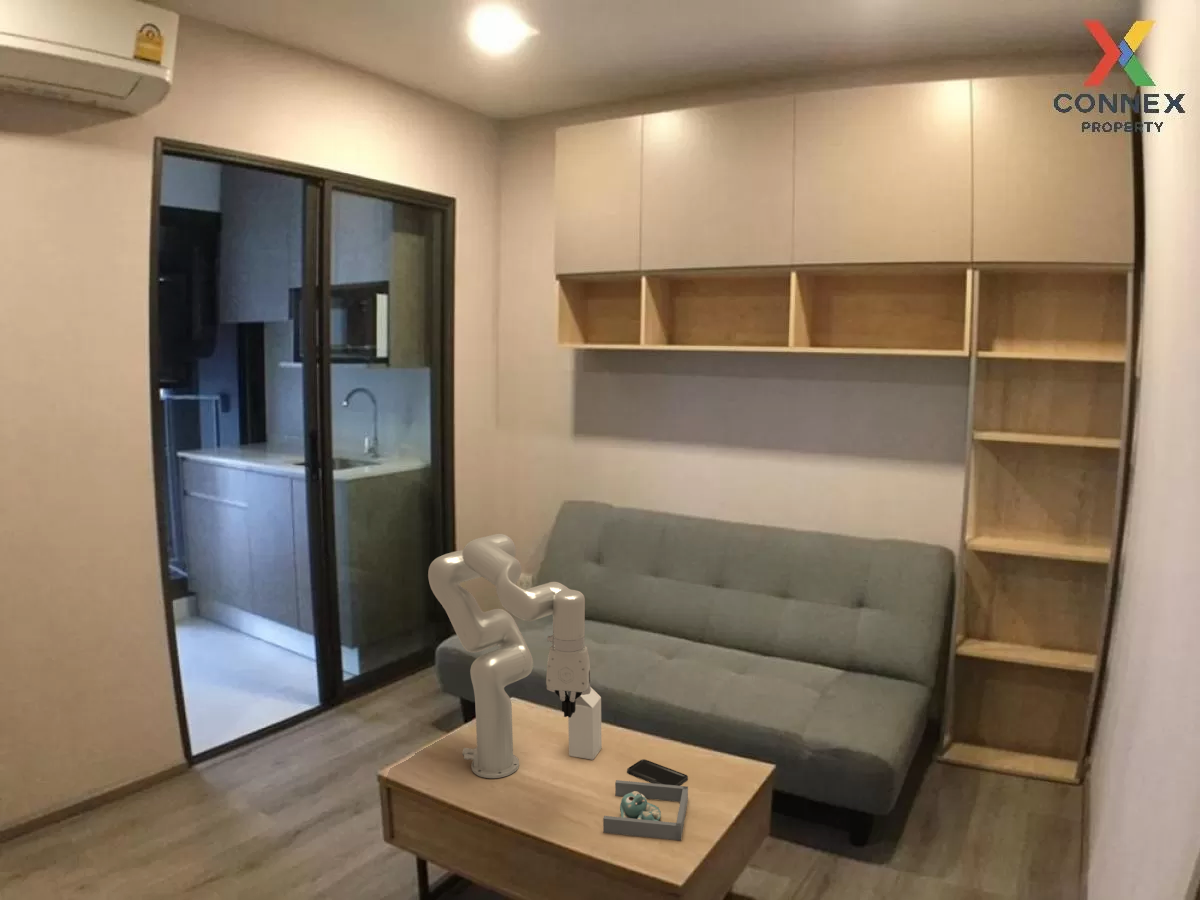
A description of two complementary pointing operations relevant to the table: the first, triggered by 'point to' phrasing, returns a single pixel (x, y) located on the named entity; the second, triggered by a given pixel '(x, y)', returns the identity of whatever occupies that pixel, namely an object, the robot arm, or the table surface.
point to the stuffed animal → (638, 807)
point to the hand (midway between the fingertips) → (568, 714)
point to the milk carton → (585, 727)
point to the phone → (656, 773)
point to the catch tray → (649, 826)
